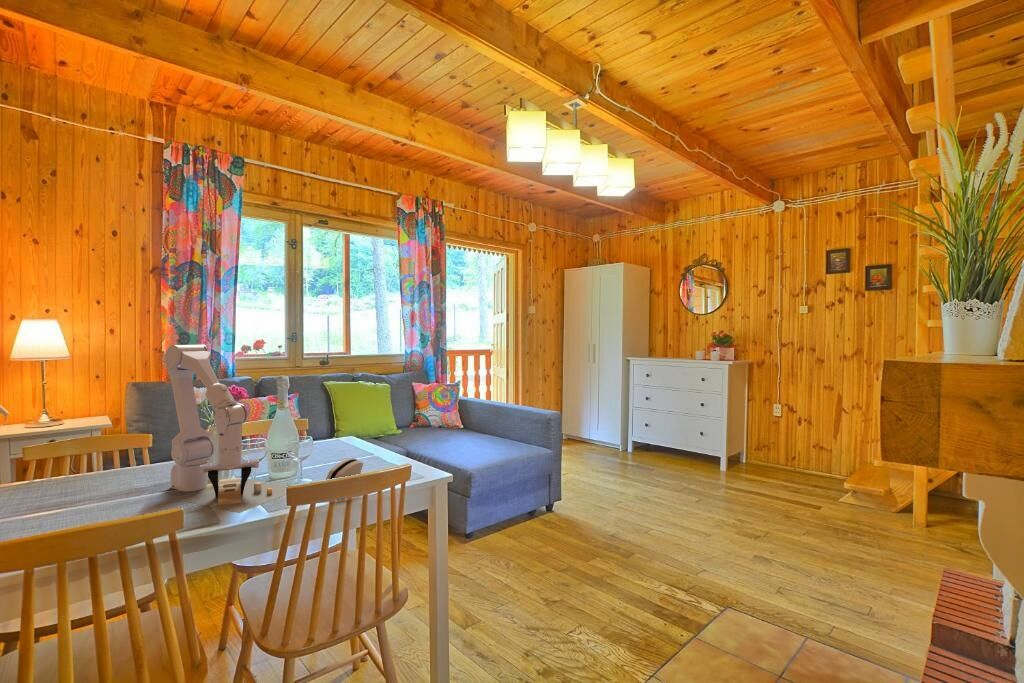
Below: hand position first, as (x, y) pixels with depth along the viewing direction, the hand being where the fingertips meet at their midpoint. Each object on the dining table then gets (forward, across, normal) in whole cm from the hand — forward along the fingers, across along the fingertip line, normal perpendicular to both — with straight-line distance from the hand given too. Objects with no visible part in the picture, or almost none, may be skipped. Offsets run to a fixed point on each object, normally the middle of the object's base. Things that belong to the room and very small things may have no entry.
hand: (229, 495), depth 141 cm
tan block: (0, 0, 0) cm, 0 cm away
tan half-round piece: (+2, +31, 0) cm, 31 cm away
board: (+2, +4, 0) cm, 4 cm away
